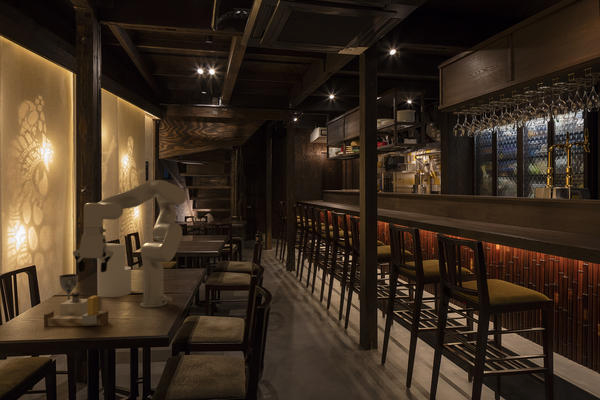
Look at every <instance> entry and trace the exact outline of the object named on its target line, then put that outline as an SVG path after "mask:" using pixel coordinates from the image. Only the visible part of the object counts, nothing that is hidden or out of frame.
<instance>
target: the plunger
mask: <svg viewBox="0 0 600 400" xmlns="http://www.w3.org/2000/svg"><path fill="white" fill-rule="evenodd" d="M70 296H72V298H71V299H72V303H78V302H79V299H80V296H81V292H80V291H75V292H71V294H70Z"/></svg>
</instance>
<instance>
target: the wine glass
mask: <svg viewBox="0 0 600 400" xmlns="http://www.w3.org/2000/svg"><path fill="white" fill-rule="evenodd" d="M58 276H59V284H60V285H59V286H60V288H61V289H62V290H63V291H65V292H64V293H66V294H67V301H68V300H70V299H71V293H73V291H74V289H75V288H76V287H77V285H78V281H79V280H78V278H79V277H78V274H77V273H68V274H67V273H65V274H61V275H58Z"/></svg>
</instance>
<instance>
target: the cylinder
mask: <svg viewBox="0 0 600 400" xmlns="http://www.w3.org/2000/svg"><path fill="white" fill-rule="evenodd" d="M106 243H107V249H108V250H110V251H112V252H113V255H112V257H111V259H110V260H109V261H108V262H107V270H106V271H105V272H101V263H102V261H101V260H100V258H96V261H97V268H96V269H97V272H96V273H97V274H96V275H97V296H99V298H118V297H122V296H127V295H130V294H132V267H131V266H126V261H125V259H126V255H125V254H126V252H125V250H126V249H125V248H126V245H125V244H122V243H110V242H106ZM107 256H108V253H107ZM107 256H106V257H107Z"/></svg>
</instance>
